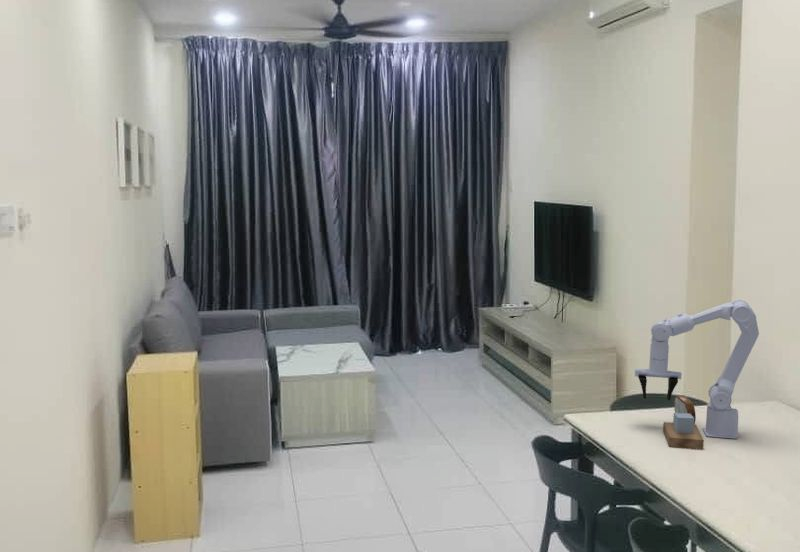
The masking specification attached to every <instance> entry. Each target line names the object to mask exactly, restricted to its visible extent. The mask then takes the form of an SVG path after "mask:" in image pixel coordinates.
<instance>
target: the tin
mask: <svg viewBox="0 0 800 552" xmlns="http://www.w3.org/2000/svg"><path fill="white" fill-rule="evenodd" d="M695 409H696V408H695V405H694V404H693V401H691V400H690V399H689V398H688V397H687V396H686V395H684V394H682V395H675V397H674V410H673V411H674V413H689V414H691V415H692V416H693V417H694V424H696V419H697V418H696V410H695Z"/></svg>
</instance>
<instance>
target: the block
mask: <svg viewBox="0 0 800 552" xmlns="http://www.w3.org/2000/svg"><path fill="white" fill-rule="evenodd" d="M672 423H673V429H674V430H675V431H676V432H677V433H688V434H693V432H694V417H693V416H692V415H691V414H689V413H675V412H673V422H672Z"/></svg>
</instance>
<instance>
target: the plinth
mask: <svg viewBox="0 0 800 552" xmlns="http://www.w3.org/2000/svg"><path fill="white" fill-rule="evenodd" d="M662 432H663V434H664V438H665V440H666V443H667V445H668V447H669V448H676V449H677V448H678V449H679V448H680V449H689V448H691V449H690V450H702V449H703V450H704V438H703V436H702V434H701V432H700V430H699V428H698V426H697V424H696V423H695V424H694V432H693V434H688V433H677V432H676V431H675V430H674V429H673V422H668V421H667V422H666V421H664V422H663V429H662Z"/></svg>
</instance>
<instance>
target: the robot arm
mask: <svg viewBox="0 0 800 552" xmlns="http://www.w3.org/2000/svg"><path fill="white" fill-rule="evenodd" d="M731 318H732V320H733V321H734V322H735V323H736V325H738V328H739V331H740V332H741V333H740V335H739V337H738V339H737V341H736V344H735V345H734V347H733V350H732V351H731V353H730V356H729V358H728V359H727V362H726V364H725V367H724V369H723V370H722V373H721V374H720V376H719V377H718V378H717V380H716V382H715V383H714V384H713V385H711V387H710V388H709V390H708V397H709V400H710V401H709V403H707V406H706V420H705V427H702V431H703V432H704V434H705V436H706V437H708V438H709V437H710V438H723V439H724V438H725V439H734V440H735V439H737V440H738V432H739V411H738V409H737V408H733V407H732V405H731V404H732V396H733V393H734V390H735V386H736V383H737V381H738V378H739V377H740V374H741V373H742V371H743V369H744V366H745V364H746V362H747V360H748V358H749V357H750V354H751V352H752V350H753V347H754V346H755V344H756V342H757V339H758V337H759V335H760V333H759V331H760V330H759V326H758V322H757V315H756V313H755V312H754V310H753V309H752V307H750V305H749V304H748V302H746V300H742V299H736V300H734V301H733V302H731V301H728V302H725V303H723V304H718V305H716V306H714V307H711V308H708V309H706V310H703V311H701V312H698V313H694V314H692V315H690V314H688V313H682V312H680V313H678V314H677V316H675V317H671V318H669V319H667V318H663V321H660V320H659V321H656V322H655V323H653V325H651V328H650V332H651V340H650V342H651V343H650V350H649V352H650V353H649V365H648V366H649V367H648V369H640V368H639V369H638V368H637V369H634V376H635V377H638V380H639V383H640V385H641V390H642V398H643V399H647V384H648V383H647V382H648V381H647V380H648V379H647V377H650V378H665V379H666V378H667V380H668V381H667V382H668V383H667V384H668V385H667V387H668V388H667V394H666V395H667V396H666V399H667V401H671V398H672V394H673V393H674V392H673V391H674V390H675V388H676V386H678V383H679V380H682V372H681V371H674V370H673V371H672V370H668V367H669V366H668V363H669V349H670V345H669V339H670V337H675V336H678V335H681V334H684V333H688V332H691V331H693V329H694V327H695V326H696V325H701V324H703V323H707V322H710V321H714V320H717V319H723V320H726V321H731Z"/></svg>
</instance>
